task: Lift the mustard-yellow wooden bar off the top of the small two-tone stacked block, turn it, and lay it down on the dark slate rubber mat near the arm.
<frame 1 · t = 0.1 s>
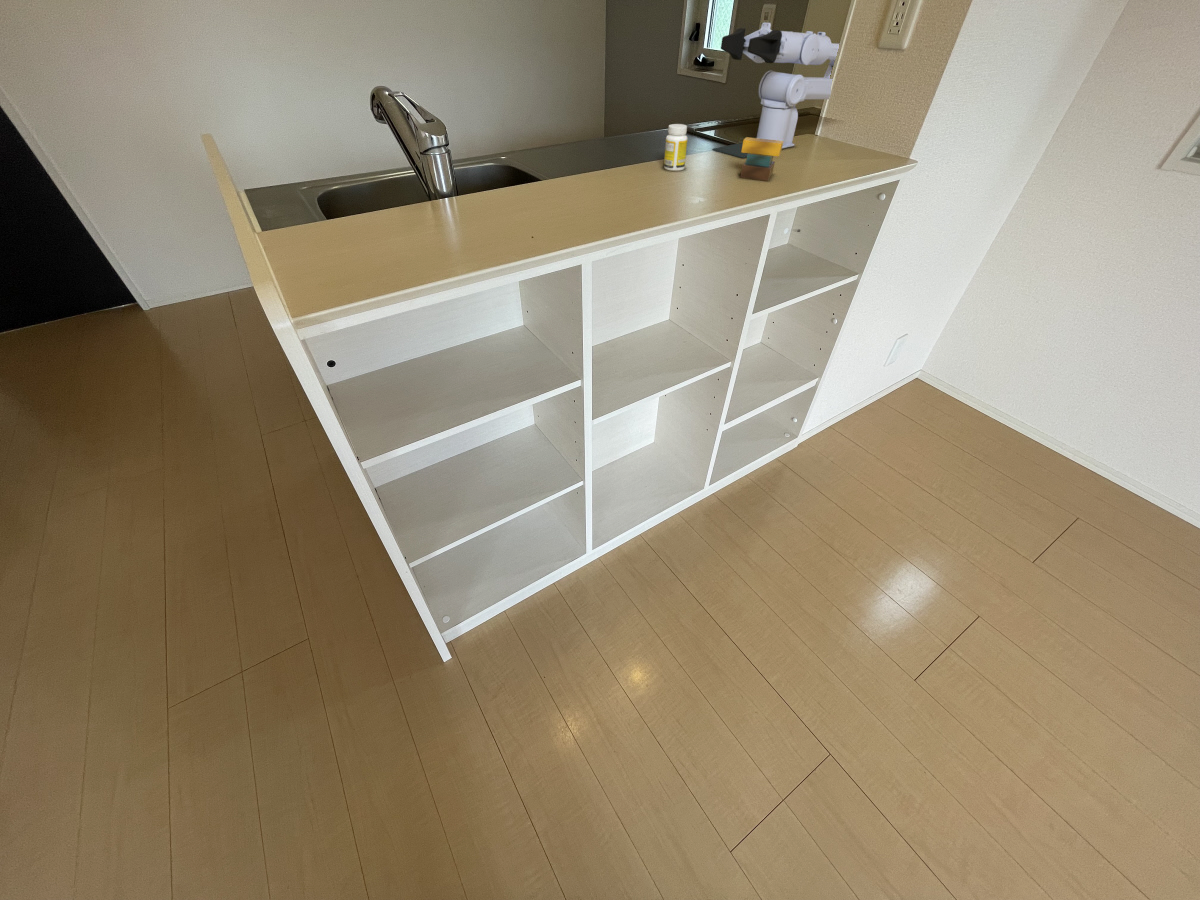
hand: (736, 44, 109), 22 cm above the counter, tool horizontal, fingers open, 7 cm apart
bar: (760, 153, 109), point 4 cm above the counter, touching two-tone stacked block
mat: (745, 150, 129), on the counter
supplement bottle: (673, 169, 116), on the counter
two-tone stacked block: (756, 175, 112), on the counter
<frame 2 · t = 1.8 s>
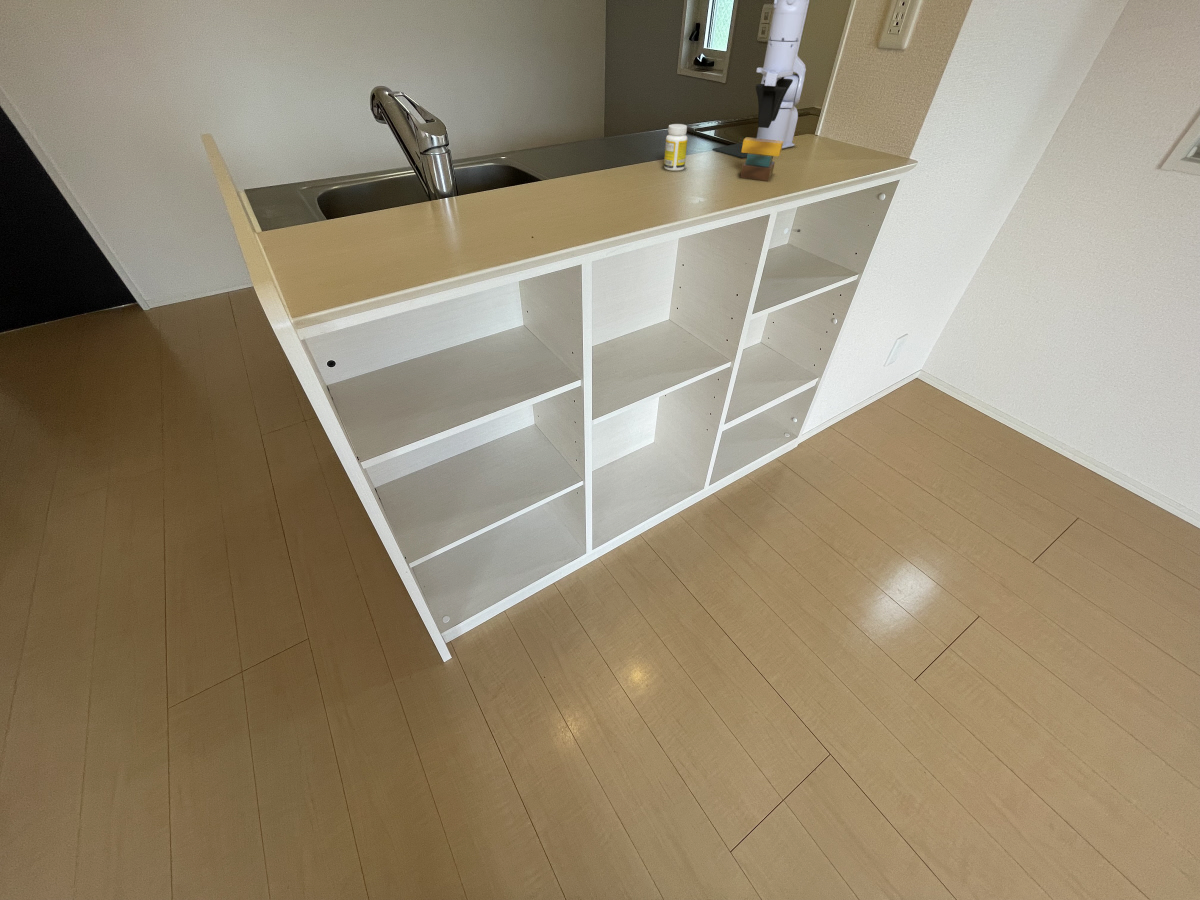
hand: (766, 123, 105), 10 cm above the counter, tool pointing down, fingers open, 7 cm apart
nothing on the counter moved.
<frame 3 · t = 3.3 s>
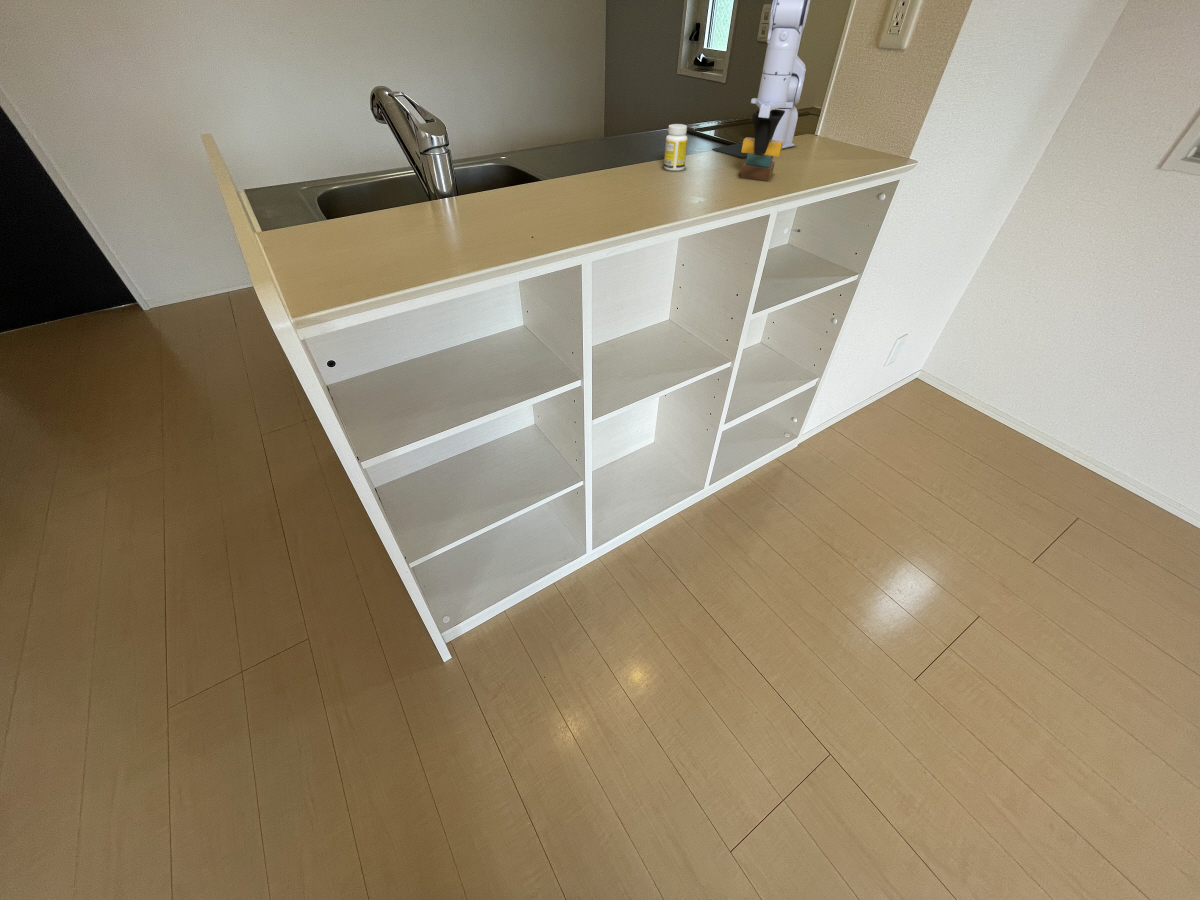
hand: (761, 151, 109), 5 cm above the counter, tool pointing down, fingers closed on bar, 3 cm apart
bar: (760, 153, 109), point 4 cm above the counter, touching gripper, two-tone stacked block
everything else where it was.
when the fingers open (1 cm above the counter, at t = 9.2 s): bar stays where it is, resting on mat.
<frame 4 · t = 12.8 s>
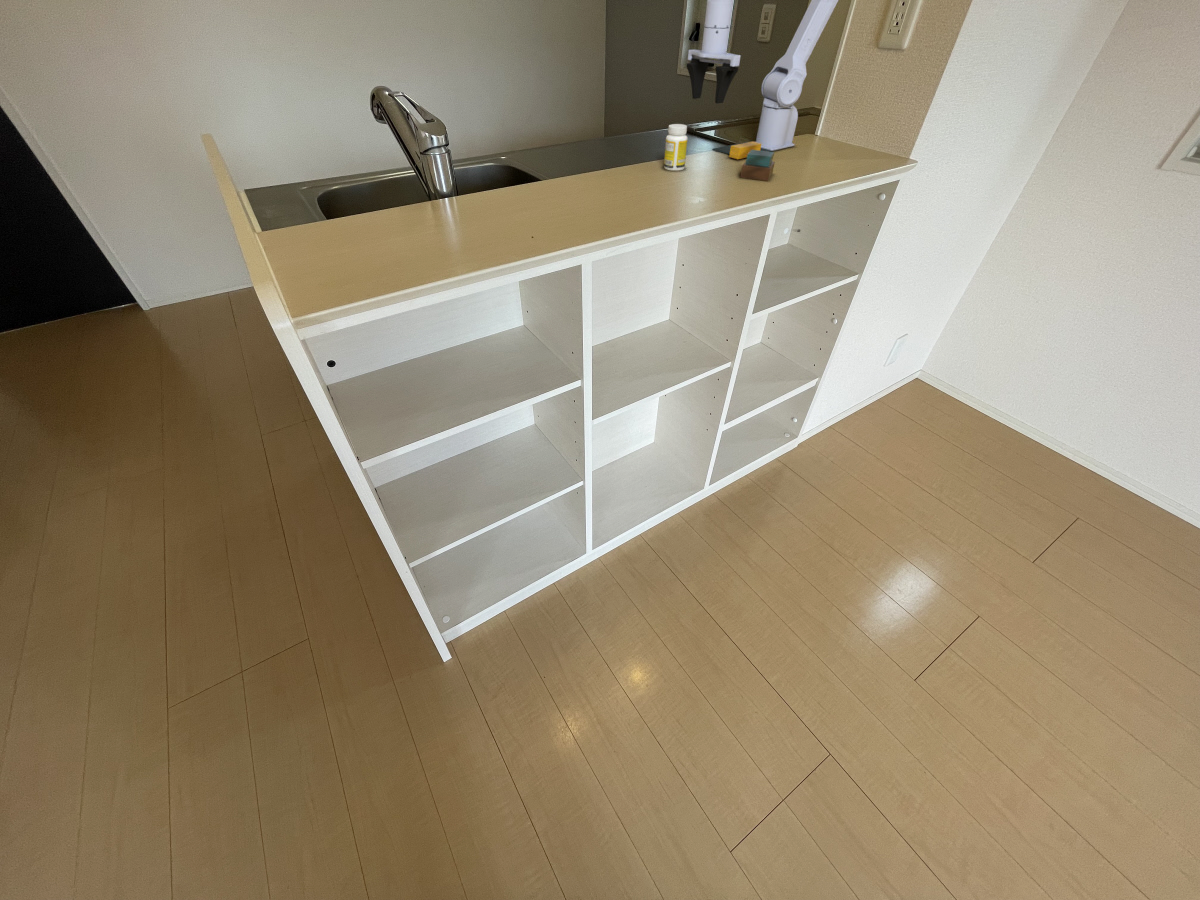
hand: (707, 100, 122), 10 cm above the counter, tool pointing down, fingers open, 7 cm apart
bar: (744, 155, 124), resting on mat
everything else where it was.
at the end: bar inside the target area on the mat (4.7 cm from its centre), point 0.3 cm above the mat's base; bar touching mat; bar tilted 0° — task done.
